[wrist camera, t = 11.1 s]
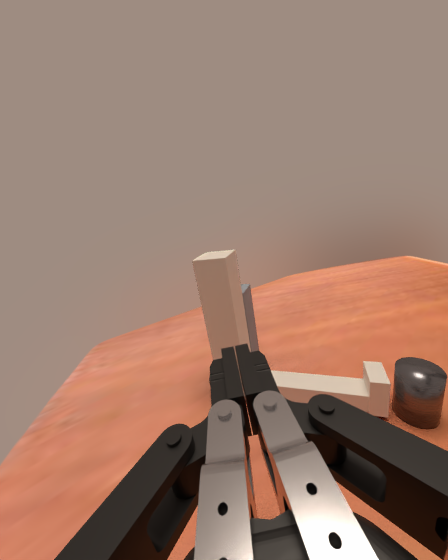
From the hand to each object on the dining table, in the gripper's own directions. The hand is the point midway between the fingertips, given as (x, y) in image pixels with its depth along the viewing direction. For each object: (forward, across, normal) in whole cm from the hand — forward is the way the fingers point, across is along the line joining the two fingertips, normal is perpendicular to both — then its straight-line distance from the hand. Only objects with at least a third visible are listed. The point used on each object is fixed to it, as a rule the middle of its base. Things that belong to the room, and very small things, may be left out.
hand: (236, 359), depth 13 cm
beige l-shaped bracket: (+10, -5, +14) cm, 18 cm away
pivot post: (+5, -16, +14) cm, 22 cm away
